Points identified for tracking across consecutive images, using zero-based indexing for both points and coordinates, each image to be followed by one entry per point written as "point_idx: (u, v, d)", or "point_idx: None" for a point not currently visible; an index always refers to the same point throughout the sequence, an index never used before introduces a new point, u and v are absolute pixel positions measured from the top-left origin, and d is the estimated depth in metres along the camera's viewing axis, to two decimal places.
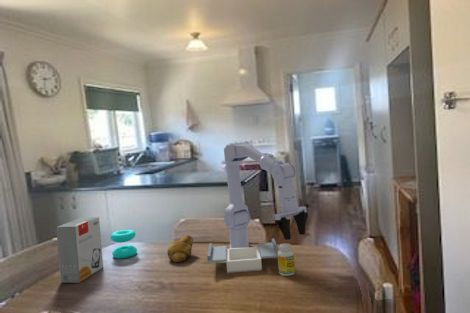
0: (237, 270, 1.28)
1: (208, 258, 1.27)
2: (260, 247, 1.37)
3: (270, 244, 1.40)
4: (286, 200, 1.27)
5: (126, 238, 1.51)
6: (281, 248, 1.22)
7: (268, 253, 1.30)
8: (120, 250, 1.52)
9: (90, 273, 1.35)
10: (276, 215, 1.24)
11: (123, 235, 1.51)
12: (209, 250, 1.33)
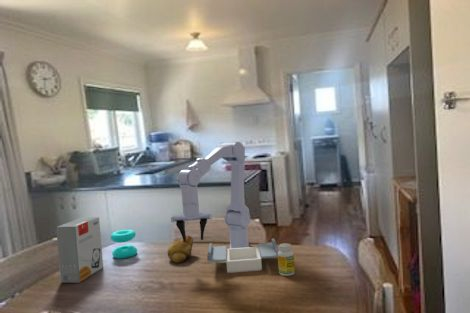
0: (237, 270, 1.28)
1: (208, 258, 1.27)
2: (260, 247, 1.37)
3: (270, 244, 1.40)
4: (183, 205, 1.32)
5: (126, 238, 1.51)
6: (281, 248, 1.22)
7: (268, 253, 1.30)
8: (120, 250, 1.52)
9: (90, 273, 1.35)
10: (171, 217, 1.33)
11: (123, 235, 1.51)
12: (209, 250, 1.33)
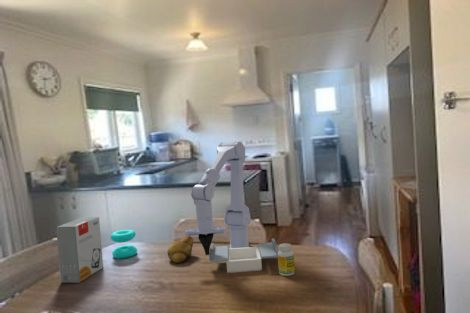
0: (237, 270, 1.28)
1: (210, 258, 1.27)
2: (260, 247, 1.37)
3: (270, 244, 1.40)
4: (197, 220, 1.32)
5: (126, 238, 1.51)
6: (281, 248, 1.22)
7: (268, 253, 1.30)
8: (120, 250, 1.52)
9: (90, 273, 1.35)
10: None
11: (123, 235, 1.51)
12: (211, 250, 1.33)
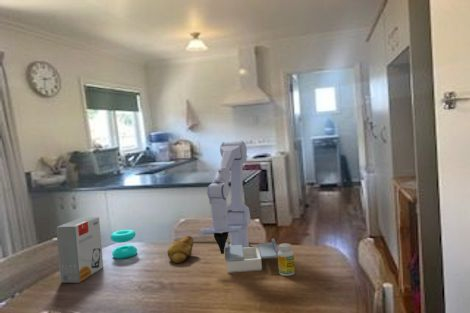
0: (237, 270, 1.28)
1: (226, 257, 1.27)
2: (260, 247, 1.37)
3: (270, 244, 1.40)
4: (212, 219, 1.32)
5: (126, 238, 1.51)
6: (281, 248, 1.22)
7: (268, 253, 1.30)
8: (120, 250, 1.52)
9: (90, 273, 1.35)
10: (200, 230, 1.34)
11: (123, 235, 1.51)
12: (226, 249, 1.33)
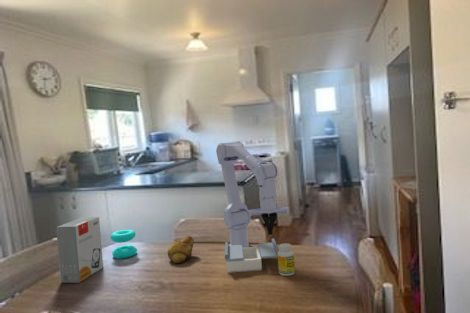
0: (237, 270, 1.28)
1: (226, 257, 1.27)
2: (260, 247, 1.37)
3: (270, 244, 1.40)
4: (261, 199, 1.32)
5: (126, 238, 1.51)
6: (281, 248, 1.22)
7: (268, 253, 1.30)
8: (120, 250, 1.52)
9: (90, 273, 1.35)
10: (248, 211, 1.34)
11: (123, 235, 1.51)
12: (226, 249, 1.33)
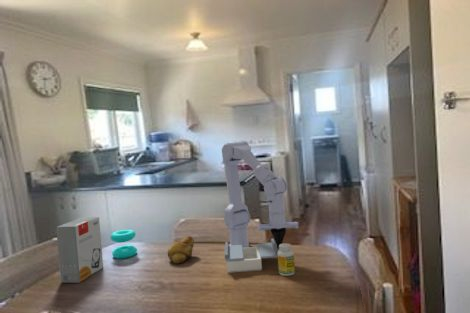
0: (237, 270, 1.28)
1: (226, 257, 1.27)
2: (259, 247, 1.37)
3: (269, 244, 1.40)
4: (270, 214, 1.33)
5: (126, 238, 1.51)
6: (281, 248, 1.22)
7: (267, 253, 1.30)
8: (120, 250, 1.52)
9: (90, 273, 1.35)
10: None
11: (123, 235, 1.51)
12: (226, 249, 1.33)
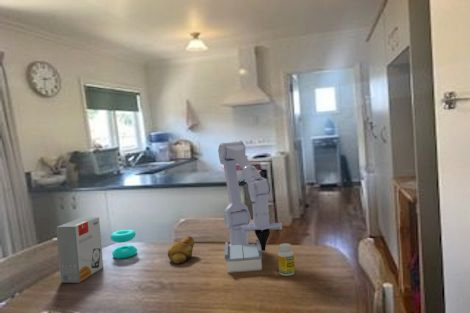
0: (237, 270, 1.28)
1: (226, 257, 1.27)
2: (244, 248, 1.37)
3: (254, 245, 1.40)
4: (254, 215, 1.32)
5: (126, 238, 1.51)
6: (281, 248, 1.22)
7: (251, 254, 1.30)
8: (120, 250, 1.52)
9: (90, 273, 1.35)
10: (241, 227, 1.34)
11: (123, 235, 1.51)
12: (226, 249, 1.33)
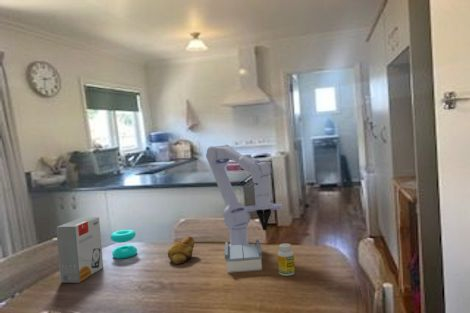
0: (237, 270, 1.28)
1: (226, 257, 1.27)
2: (244, 248, 1.37)
3: (254, 245, 1.40)
4: (256, 196, 1.39)
5: (126, 238, 1.51)
6: (281, 248, 1.22)
7: (251, 254, 1.30)
8: (120, 250, 1.52)
9: (90, 273, 1.35)
10: (244, 207, 1.41)
11: (123, 235, 1.51)
12: (226, 249, 1.33)
